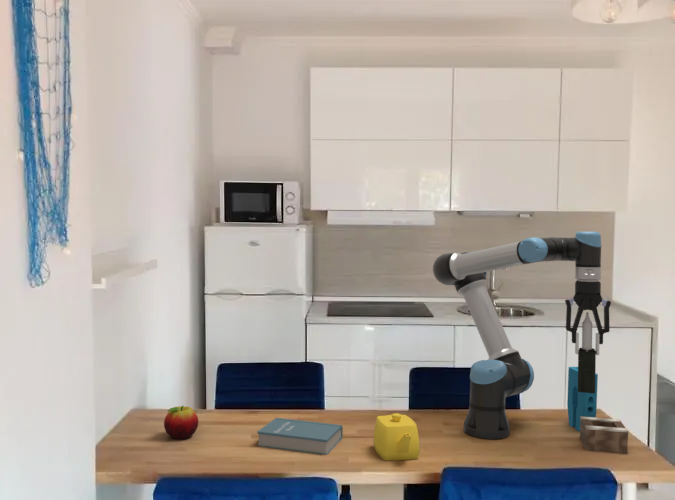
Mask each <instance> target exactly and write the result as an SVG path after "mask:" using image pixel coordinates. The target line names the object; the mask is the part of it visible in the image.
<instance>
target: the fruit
mask: <svg viewBox="0 0 675 500" xmlns="http://www.w3.org/2000/svg"><path fill="white" fill-rule="evenodd" d="M163 427H164V430H165V433H166V434H167V435H168V436H169V437H170V438H171V439H175V440H184V439H189V438H191V437H192V436H193V435H194V434H196V431H197V429H198V427H199V417H198V415H197V413H196V412H195V410H194V409H193V408H192V407H190V406H184V405H181V406H174V407H170V408H169V409H168V410H167V414H166V415H165V417H164V421H163Z"/></svg>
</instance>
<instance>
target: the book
mask: <svg viewBox="0 0 675 500" xmlns="http://www.w3.org/2000/svg"><path fill="white" fill-rule="evenodd" d="M343 428H344V427H343V425H342V424H336V423H328V422H327V423H326V422H317V421H310V420H309V421H308V420H300V419H290V418H282V417H275V419H273V420H272V421H270V422H269V423H267V424H266V425H264V426H263V427H262V428H260V429H259V430H258V431H257V433H256V434H257V435H258V444H257V445H256V446H257V447H261V448H270V449H279V450H285V451H293V452H301V453H309V454H317V455H324V456H327V455H328V454H329V453H330V452H331V451H332V450H333V449H334V448H335V447H336V446H337V445H338V444H339V443H340V442H341V440H342V439H343V437H344V436H343V434H344V433H343V430H344V429H343Z"/></svg>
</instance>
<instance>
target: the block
mask: <svg viewBox="0 0 675 500" xmlns="http://www.w3.org/2000/svg"><path fill="white" fill-rule="evenodd" d="M567 371H568V375H567V401H566V402H567V403H566V404H567V407H566V408H567V416H568V425H569V426H570V427H571V428H574V429H575V430H576V431H577V432H579V433H580V419H581V418H580V416H582V417H595V418H597V411H598V410H597V405H598V404H597V403H598V379H599V377H598V375H599V374H598V373H596V372H595V393H584V392H578V366H568V370H567Z"/></svg>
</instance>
